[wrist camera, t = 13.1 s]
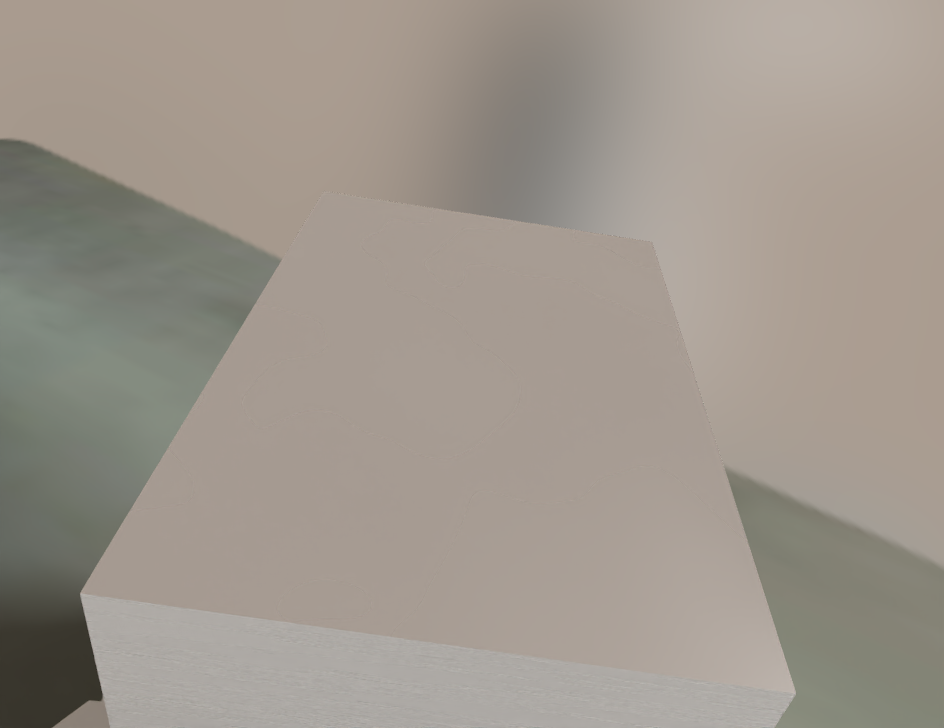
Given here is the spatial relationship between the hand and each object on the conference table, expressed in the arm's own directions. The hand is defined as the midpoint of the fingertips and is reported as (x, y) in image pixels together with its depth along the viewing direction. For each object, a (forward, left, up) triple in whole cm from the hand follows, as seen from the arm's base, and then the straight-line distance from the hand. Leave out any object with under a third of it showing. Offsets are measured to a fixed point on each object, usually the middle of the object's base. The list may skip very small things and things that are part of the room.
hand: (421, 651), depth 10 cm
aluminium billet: (-1, 0, -6) cm, 7 cm away
